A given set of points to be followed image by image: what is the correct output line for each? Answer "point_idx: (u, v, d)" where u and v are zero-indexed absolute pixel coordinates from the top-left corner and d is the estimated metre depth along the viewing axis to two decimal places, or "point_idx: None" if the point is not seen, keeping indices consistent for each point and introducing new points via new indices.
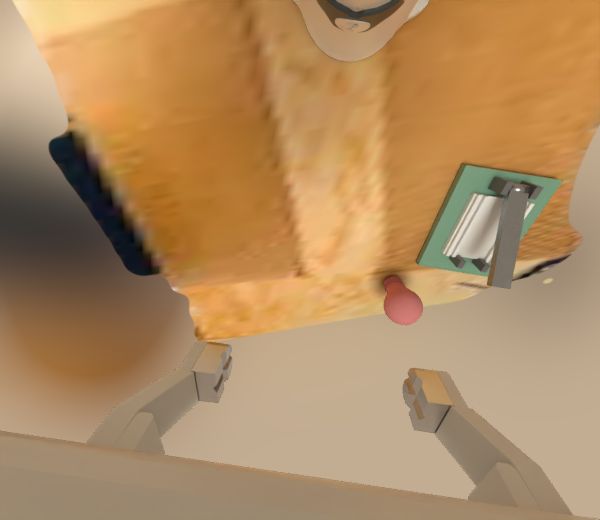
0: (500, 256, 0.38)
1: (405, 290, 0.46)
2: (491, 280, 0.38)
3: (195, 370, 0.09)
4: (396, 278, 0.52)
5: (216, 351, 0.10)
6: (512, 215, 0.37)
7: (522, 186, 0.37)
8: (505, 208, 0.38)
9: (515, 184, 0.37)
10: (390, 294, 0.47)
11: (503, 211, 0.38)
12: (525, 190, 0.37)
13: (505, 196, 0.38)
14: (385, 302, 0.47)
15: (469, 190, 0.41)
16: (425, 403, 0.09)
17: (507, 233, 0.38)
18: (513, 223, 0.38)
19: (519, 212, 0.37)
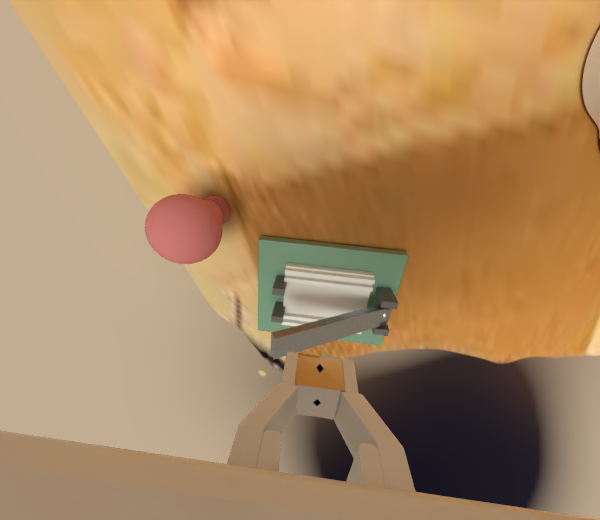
0: (314, 331, 0.27)
1: (220, 226, 0.25)
2: (280, 334, 0.25)
3: (298, 384, 0.09)
4: (227, 213, 0.31)
5: (311, 363, 0.10)
6: (360, 321, 0.30)
7: (388, 317, 0.32)
8: (367, 312, 0.30)
9: (390, 311, 0.32)
10: (204, 202, 0.24)
11: (363, 311, 0.30)
12: (384, 322, 0.32)
13: (377, 306, 0.31)
14: (184, 195, 0.23)
15: (375, 269, 0.32)
16: (319, 389, 0.09)
17: (342, 325, 0.29)
18: (352, 326, 0.30)
19: (363, 326, 0.31)
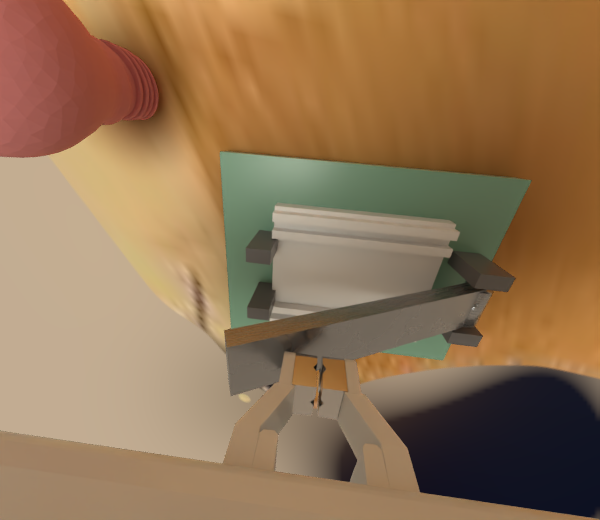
0: (333, 331, 0.11)
1: (79, 46, 0.09)
2: (246, 337, 0.10)
3: (295, 383, 0.09)
4: (150, 90, 0.15)
5: (308, 363, 0.10)
6: (430, 316, 0.14)
7: (482, 311, 0.16)
8: (446, 296, 0.14)
9: (490, 296, 0.15)
10: None
11: (438, 294, 0.14)
12: (473, 319, 0.16)
13: (462, 287, 0.15)
14: None
15: (455, 212, 0.16)
16: (322, 389, 0.09)
17: (394, 322, 0.13)
18: (413, 325, 0.14)
19: (433, 326, 0.15)
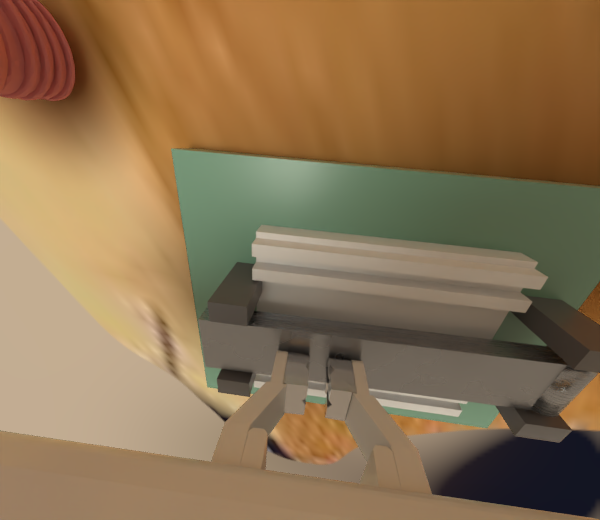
0: (308, 341, 0.10)
1: None
2: None
3: (287, 382, 0.09)
4: (54, 50, 0.09)
5: (300, 362, 0.10)
6: (460, 371, 0.10)
7: (571, 398, 0.10)
8: (491, 352, 0.10)
9: (590, 380, 0.10)
10: None
11: (479, 346, 0.10)
12: (550, 404, 0.10)
13: (534, 349, 0.10)
14: None
15: (532, 242, 0.10)
16: (330, 390, 0.09)
17: (396, 359, 0.10)
18: (429, 374, 0.10)
19: (467, 388, 0.11)
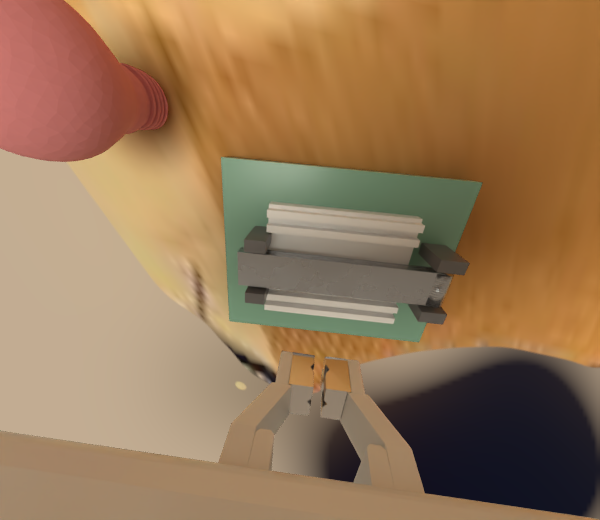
0: (298, 264, 0.18)
1: (115, 75, 0.11)
2: None
3: (292, 383, 0.09)
4: (161, 104, 0.17)
5: (305, 362, 0.10)
6: (383, 280, 0.18)
7: (442, 293, 0.18)
8: (398, 268, 0.18)
9: (449, 281, 0.18)
10: (66, 3, 0.10)
11: (393, 266, 0.18)
12: (433, 299, 0.19)
13: (423, 268, 0.19)
14: None
15: (422, 209, 0.19)
16: (325, 390, 0.09)
17: (347, 274, 0.18)
18: (367, 283, 0.19)
19: (389, 292, 0.19)
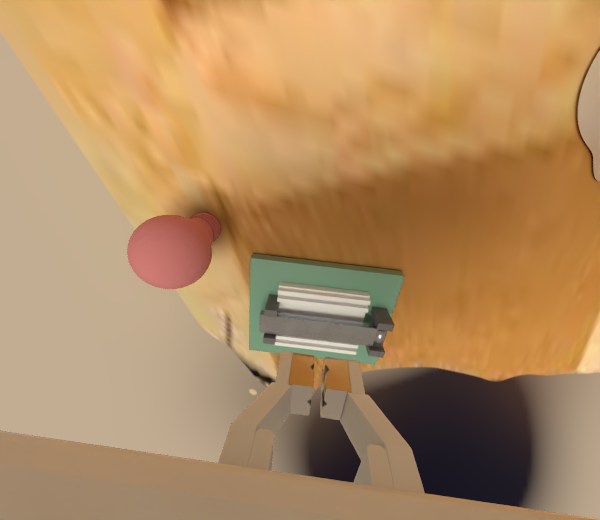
0: (296, 322, 0.31)
1: (210, 248, 0.23)
2: None
3: (292, 383, 0.09)
4: (217, 231, 0.29)
5: (305, 362, 0.10)
6: (346, 331, 0.31)
7: (381, 340, 0.31)
8: (355, 325, 0.31)
9: (384, 333, 0.30)
10: (192, 223, 0.22)
11: (352, 323, 0.31)
12: (376, 343, 0.31)
13: (370, 324, 0.31)
14: (170, 217, 0.21)
15: (371, 288, 0.31)
16: (325, 390, 0.09)
17: (325, 328, 0.31)
18: (337, 333, 0.31)
19: (350, 338, 0.31)
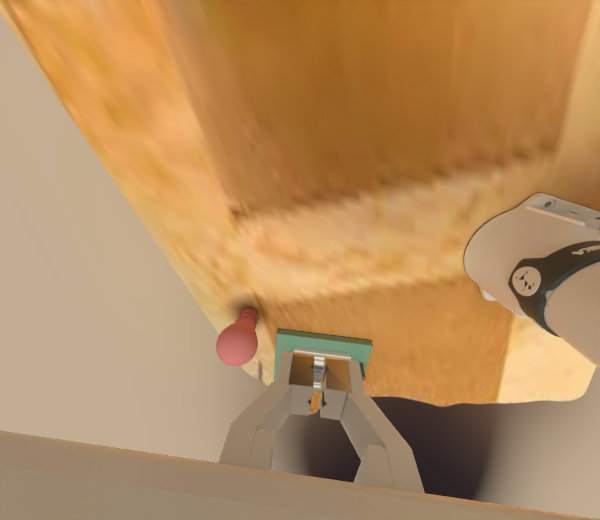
0: None
1: (257, 341, 0.42)
2: None
3: (292, 383, 0.09)
4: (257, 319, 0.48)
5: (305, 362, 0.10)
6: None
7: None
8: None
9: None
10: (248, 330, 0.41)
11: None
12: None
13: None
14: (238, 329, 0.41)
15: (352, 352, 0.50)
16: (325, 390, 0.09)
17: None
18: None
19: None
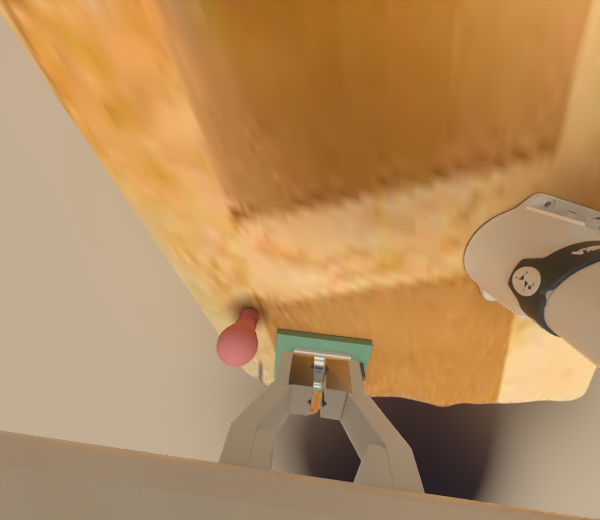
0: None
1: (257, 341, 0.42)
2: None
3: (292, 383, 0.09)
4: (257, 319, 0.48)
5: (305, 362, 0.10)
6: None
7: None
8: None
9: None
10: (248, 330, 0.41)
11: None
12: None
13: None
14: (238, 329, 0.41)
15: (352, 352, 0.50)
16: (325, 390, 0.09)
17: None
18: None
19: None
